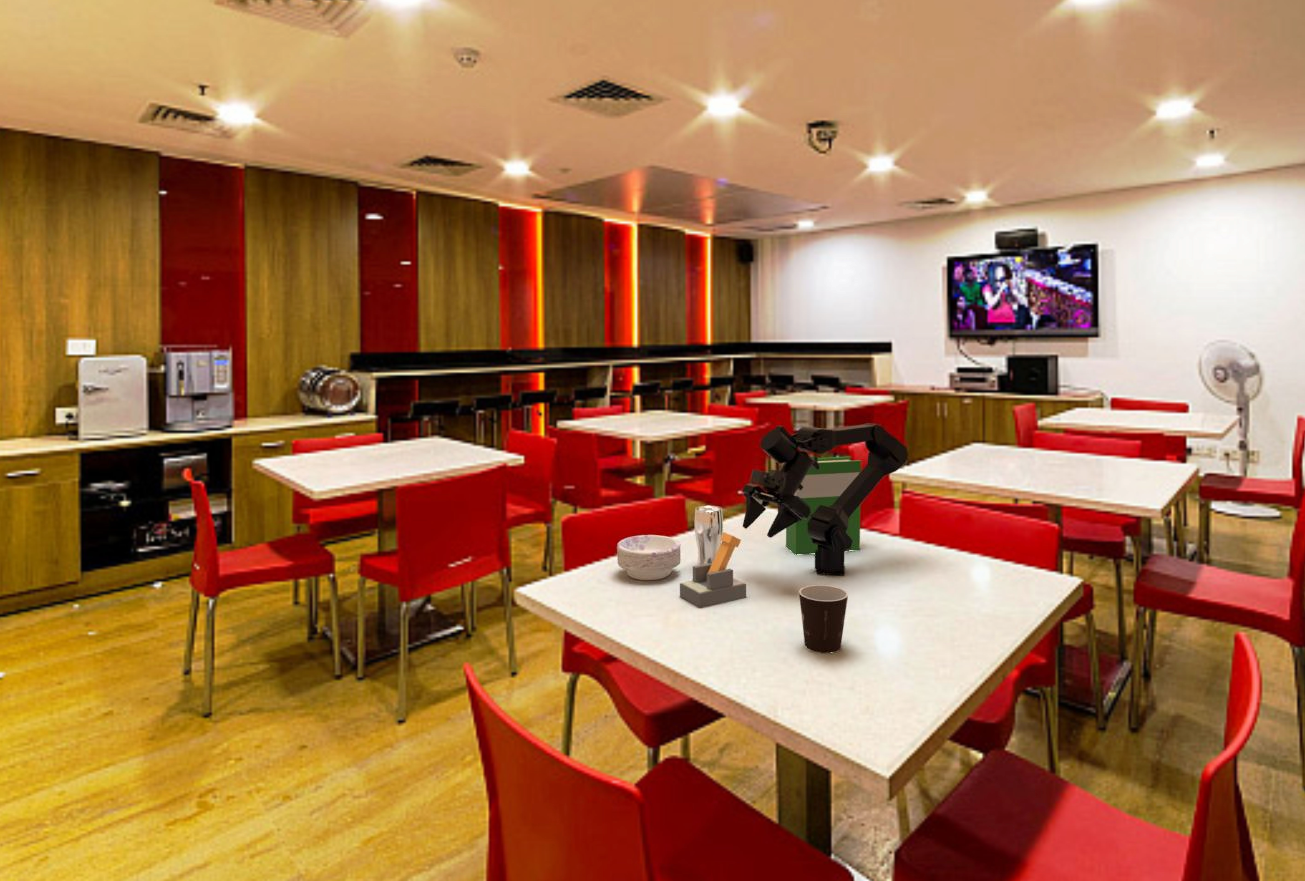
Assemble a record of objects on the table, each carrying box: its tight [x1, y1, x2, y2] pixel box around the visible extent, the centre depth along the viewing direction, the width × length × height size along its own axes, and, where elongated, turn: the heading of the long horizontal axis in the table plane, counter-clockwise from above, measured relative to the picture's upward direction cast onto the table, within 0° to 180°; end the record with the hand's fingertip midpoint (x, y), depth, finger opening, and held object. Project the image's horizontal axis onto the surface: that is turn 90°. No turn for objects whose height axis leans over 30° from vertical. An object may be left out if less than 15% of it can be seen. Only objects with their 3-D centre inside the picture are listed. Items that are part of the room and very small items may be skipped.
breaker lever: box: [708, 531, 742, 573], centre depth 159 cm, size 3×4×11 cm
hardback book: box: [785, 456, 862, 556], centre depth 192 cm, size 18×7×24 cm, turn 99°
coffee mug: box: [798, 584, 849, 654], centre depth 130 cm, size 12×9×10 cm
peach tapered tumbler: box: [694, 505, 724, 566], centre depth 178 cm, size 7×7×15 cm
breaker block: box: [679, 563, 747, 609], centre depth 158 cm, size 12×8×6 cm, turn 119°
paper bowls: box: [616, 534, 682, 581], centre depth 175 cm, size 15×15×8 cm
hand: (756, 532), depth 163 cm, fingers open, 9 cm apart
